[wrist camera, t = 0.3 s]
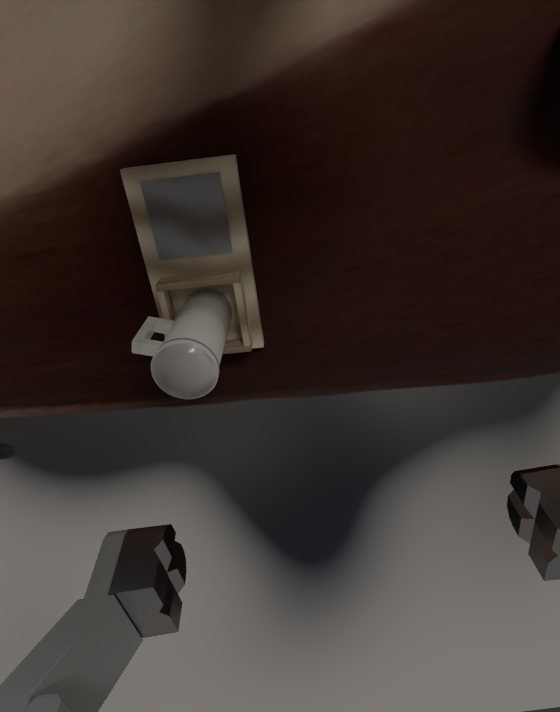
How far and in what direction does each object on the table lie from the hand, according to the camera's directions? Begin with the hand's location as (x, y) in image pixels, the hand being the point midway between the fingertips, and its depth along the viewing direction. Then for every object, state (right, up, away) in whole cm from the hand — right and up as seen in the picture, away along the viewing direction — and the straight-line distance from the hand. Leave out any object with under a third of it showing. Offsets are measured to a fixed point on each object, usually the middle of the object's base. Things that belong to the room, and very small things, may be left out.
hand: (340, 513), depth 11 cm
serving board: (-11, +15, +46) cm, 50 cm away
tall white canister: (-12, +10, +48) cm, 50 cm away
